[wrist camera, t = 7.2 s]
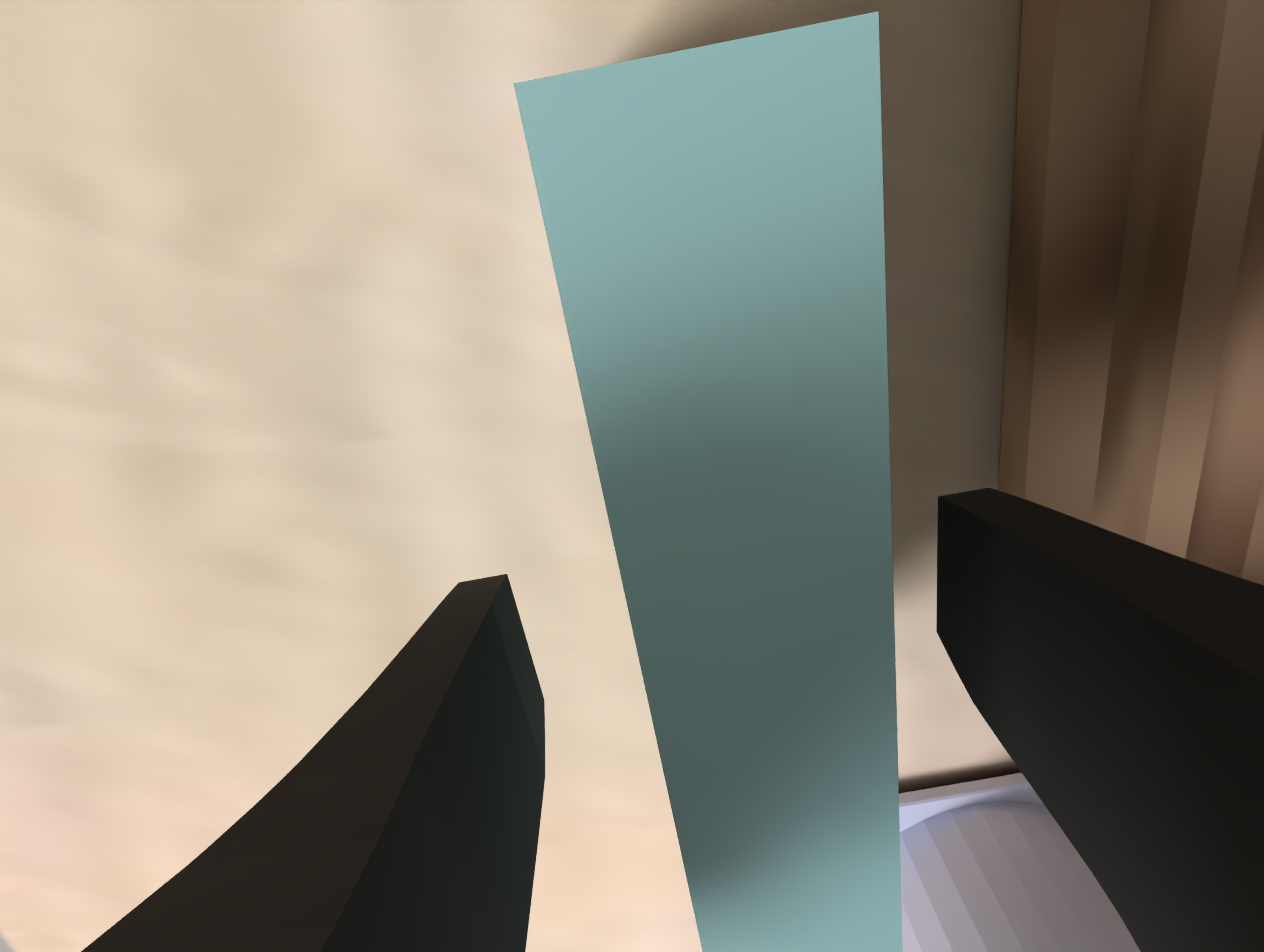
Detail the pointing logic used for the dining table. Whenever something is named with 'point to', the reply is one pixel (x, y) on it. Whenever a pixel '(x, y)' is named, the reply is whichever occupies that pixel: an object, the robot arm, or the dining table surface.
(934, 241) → the dining table surface
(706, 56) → the teal sheet
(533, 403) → the dining table surface
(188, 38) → the dining table surface
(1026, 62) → the walnut rack
